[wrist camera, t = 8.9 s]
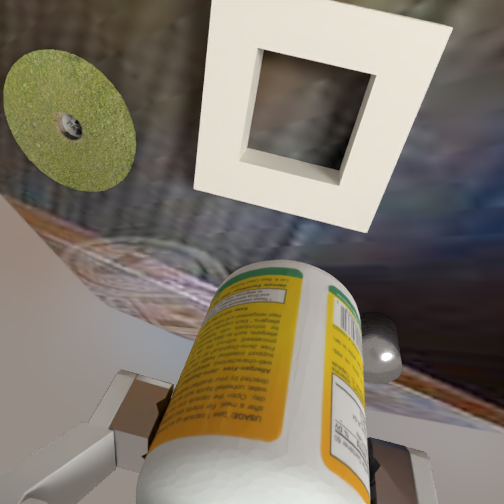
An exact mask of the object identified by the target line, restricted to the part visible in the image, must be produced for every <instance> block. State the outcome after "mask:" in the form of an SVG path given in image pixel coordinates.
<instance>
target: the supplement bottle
mask: <svg viewBox="0 0 504 504" xmlns="http://www.w3.org/2000/svg"><path fill="white" fill-rule="evenodd" d="M136 504H370V484H369V461H368V446H367V427H366V414H365V394H364V374H363V352H362V331H361V321H360V315H359V312H358V308H357V306H356V303H355V301H354V299H353V297H352V296H351V294H350V293H349V291H348V290H347V289H346V288H345V287H344V286H343V285H342V284H341V283H340V282H339V281H338V280H337V279H336V278H334V277H333V276H332V275H330V274H328V273H327V272H325V271H323V270H321V269H319V268H317V267H314V266H312V265H309V264H306V263H302V262H298V261H291V260H272V261H263V262H257V263H253V264H250V265H247V266H245V267H242V268H240V269H238V270H237V271H235V272H234V273H232V274H231V275H230V276H228V277H227V278H226V279H225V280H224V281H223V283H222V284H221V285H220V287H219V288H218V290H217V292H216V294H215V296H214V298H213V300H212V302H211V304H210V307H209V309H208V311H207V314H206V316H205V319H204V321H203V323H202V325H201V328H200V330H199V332H198V335H197V337H196V340H195V342H194V345H193V347H192V349H191V352H190V354H189V356H188V359H187V361H186V364H185V366H184V369H183V371H182V373H181V376H180V378H179V381H178V384H177V385H176V388H175V390H174V392H173V395H172V398H171V400H170V402H169V405H168V407H167V409H166V412H165V414H164V416H163V418H162V421H161V423H160V426H159V428H158V430H157V433H156V435H155V437H154V439H153V442H152V444H151V446H150V449H149V451H148V453H147V456H146V458H145V461H144V463H143V465H142V468H141V471H140V474H139V478H138V482H137V488H136Z"/></svg>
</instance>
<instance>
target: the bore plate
mask: <svg viewBox="0 0 504 504" xmlns="http://www.w3.org/2000/svg"><path fill="white" fill-rule="evenodd" d="M452 29H453V28H452V27H449V26H446V25H443V24H438V23H434V22H429V21H425V20H420V19H416V18H411V17H407V16H402V15H398V14H393V13H388V12H384V11H379V10H375V9H370V8H366V7H361V6H357V5H352V4H348V3H343V2H338V1H334V0H212V4H211V14H210V25H209V35H208V45H207V55H206V66H205V76H204V86H203V97H202V107H201V117H200V127H199V138H198V148H197V158H196V169H195V179H194V189H195V190H199V191H203V192H207V193H211V194H215V195H219V196H223V197H227V198H231V199H235V200H239V201H242V202H246V203H250V204H254V205H258V206H262V207H266V208H270V209H274V210H278V211H282V212H286V213H290V214H293V215H297V216H301V217H305V218H309V219H313V220H317V221H321V222H325V223H329V224H333V225H337V226H340V227H344V228H348V229H352V230H356V231H360V232H364V233H367V232H368V229H369V227H370V225H371V222H372V220H373V217H374V215H375V213H376V210H377V208H378V206H379V203H380V201H381V198H382V196H383V194H384V191H385V189H386V186H387V184H388V182H389V179H390V177H391V175H392V172H393V170H394V167H395V165H396V163H397V160H398V158H399V155H400V153H401V151H402V148H403V146H404V144H405V141H406V139H407V136H408V134H409V132H410V129H411V127H412V124H413V122H414V120H415V117H416V115H417V113H418V110H419V108H420V105H421V103H422V101H423V98H424V96H425V93H426V91H427V89H428V86H429V84H430V82H431V79H432V77H433V74H434V72H435V70H436V67H437V65H438V63H439V60H440V58H441V55H442V53H443V51H444V48H445V46H446V43H447V41H448V39H449V36H450V34H451V32H452ZM264 50H269V51H273V52H277V53H282V54H286V55H291V56H295V57H299V58H304V59H308V60H312V61H317V62H321V63H325V64H330V65H334V66H338V67H343V68H347V69H351V70H356V71H360V72H364V73H369V74H371V77H370V80H369V83H368V86H367V89H366V92H365V95H364V98H363V101H362V104H361V107H360V110H359V113H358V116H357V119H356V122H355V125H354V128H353V131H352V134H351V137H350V140H349V143H348V146H347V149H346V152H345V155H344V158H343V161H342V164H341V167H340V170H335V169H331V168H327V167H323V166H319V165H315V164H311V163H306V162H302V161H298V160H294V159H290V158H286V157H282V156H278V155H274V154H270V153H266V152H262V151H258V150H254V149H250V148H247V144H248V138H249V133H250V127H251V121H252V115H253V110H254V104H255V98H256V93H257V87H258V81H259V75H260V70H261V64H262V58H263V52H264Z"/></svg>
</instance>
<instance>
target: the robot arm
mask: <svg viewBox="0 0 504 504" xmlns="http://www.w3.org/2000/svg"><path fill="white" fill-rule="evenodd" d="M173 386H174V384H172V383H168V382H164V381H161V380H157V379H153V378H150V377H146V376H143V375H140V374H136V373H133V372H129V371H125V370H120V371H119V372H118V373H117V374H116V376H115V378H114V379H113V381H112V382H111V384H110V386H109V387H108V389H107V391H106V393H105V394H104V396H103V398H102V400H101V401H100V403H99V405H98V406H97V408H96V410H95V411H94V413H93V415H92V416H91V418H90V420H89V422H88V423H85V422H81V423H80V424H78V425H77V426H75V427H73V428H72V429H70V430H69V431H67V432H66V433H64V434H63V435H61V436H60V437H58V438H56V439H55V440H53V441H52V442H50V443H49V444H47V445H45V446H44V447H42V448H41V449H39V450H38V451H36V452H34V453H33V454H31V455H30V456H28V457H27V458H25V459H24V460H22V461H21V462H19V463H17V464H16V465H14V466H13V467H11V468H10V469H8V470H7V471H5V472H3V473H2V474H0V504H77V503H78V502H79V501H80V500H81V499H82V498H83V497H85V496H86V495H87V494H88V493H89V492H90V491H91V490H93V489H94V488H95V487H96V486H97V485H98V484H99V483H101V482H102V481H103V480H104V479H105V478H106V477H107V476H109V475H110V474H111V473H112V472H113V471H114V470H116V467H119V468H123V469H127V470H131V471H135V472H139V473H140V471H141V468H142V465H143V463H144V461H145V458H146V456H147V453H148V451H149V449H150V446H151V444H152V442H153V439H154V437H155V435H156V433H157V430H158V428H159V426H160V423H161V421H162V418H163V416H164V414H165V412H166V409H167V407H168V405H169V402H170V400H171V396H172V393H173ZM367 446H368V461H369V484H370V504H439V503H438V499H437V494H436V489H435V484H434V479H433V474H432V469H431V464H430V459H429V457H428V455H427V453H425V452H423V451H420V450H416V449H412V448H408V447H405V446H402V445H398V444H394V443H391V442H387V441H383V440H379V439H374V438H371V437H369V438H367Z"/></svg>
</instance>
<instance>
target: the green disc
mask: <svg viewBox="0 0 504 504" xmlns="http://www.w3.org/2000/svg"><path fill="white" fill-rule="evenodd" d="M3 92H4V93H3V94H4V97H3V98H4V109H5V115H6V117H7V122H8V125H9V127H10V129H11V132H12V134H13V136H14V138H15V140H16V142H17V143H18V144H19V146H20V148H21V149H22V150H23V152H24V153H25V154H26V156H27V157H28V158H29V160H30V161H32V162H33V164H34V165H36V167H38V169H39V170H40V171H42V172H43V173H44V174H46V175H47V176H48V177H49V178H51V179H53V180H54V181H57V182H58V183H60V184H62V185H65V186H67V187H70V188H73V189H76V190H79V191H86V192H87V191H90V192H97V191H104V190H106V189H109V188H112V187H113V186H115V185H117V184H118V183H120V181H122V180H123V179H124V178H125V176H127V174H128V171H130V168H131V165H132V163H133V161H134V155H135V152H136V138H135V137H136V134H135V130H134V127H133V122H132V119H131V116H130V113H129V111H128V108H127V106H126V105H125V103H124V100H123V99H122V97H121V95H120V94H119V93H118V91H117V90H116V88H115V87H114V85H113V84H112V83H111V82H110V81H109V80H108V79H107V78H106V77H105V76H104V75H103V74H102V73H101V72H100V71H99V70H97V69H96V68H95V67H94V66H93V65H92V64H90V63H88V62H86V60H84V59H82V58H80V57H78V56H76V55H74V54H70V53H68V52H65V51H59V50H54V49H52V50H47V49H46V50H38V51H35V52H34V51H33V52H31V53H28V54H26V55H24V56H23V57H21V58H20V59H19V60H18V61H17V62H16V63H15V64H14V65H13V67H12V68H11V70H10V71H9V73H8V75H7V78H6V81H5V85H4V91H3Z"/></svg>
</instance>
